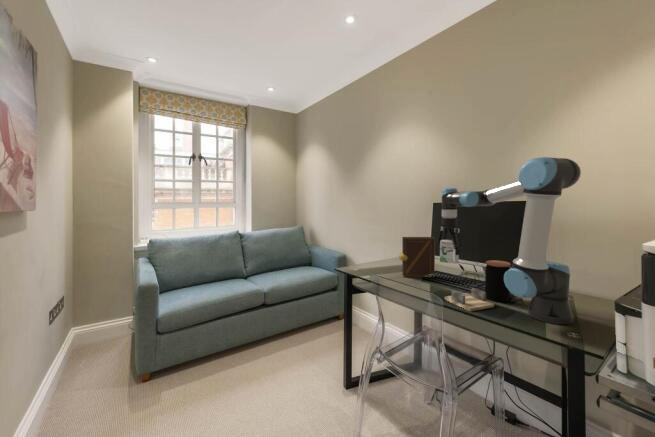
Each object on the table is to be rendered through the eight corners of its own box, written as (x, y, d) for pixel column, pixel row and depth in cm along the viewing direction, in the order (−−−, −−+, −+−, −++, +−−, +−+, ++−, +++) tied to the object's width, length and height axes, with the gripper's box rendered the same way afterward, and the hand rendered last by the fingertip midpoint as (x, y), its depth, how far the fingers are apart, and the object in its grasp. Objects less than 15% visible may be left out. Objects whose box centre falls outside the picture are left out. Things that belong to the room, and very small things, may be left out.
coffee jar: (503, 295, 147) (503, 260, 146) (514, 302, 136) (515, 265, 135) (481, 294, 148) (481, 260, 147) (490, 302, 137) (491, 265, 136)
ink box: (439, 262, 155) (439, 240, 154) (442, 260, 159) (442, 239, 158) (456, 263, 149) (456, 241, 149) (458, 262, 153) (459, 240, 153)
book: (432, 274, 187) (432, 236, 186) (435, 278, 179) (436, 238, 177) (397, 274, 190) (397, 236, 189) (399, 277, 182) (399, 238, 180)
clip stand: (494, 307, 131) (494, 295, 131) (469, 311, 127) (470, 299, 126) (466, 296, 146) (467, 285, 146) (444, 299, 142) (444, 288, 141)
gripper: (471, 218, 143) (470, 262, 145) (440, 216, 164) (440, 255, 166) (459, 218, 141) (458, 263, 142) (429, 216, 162) (429, 256, 163)
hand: (449, 259), depth 154 cm, fingers closed on ink box, 9 cm apart
